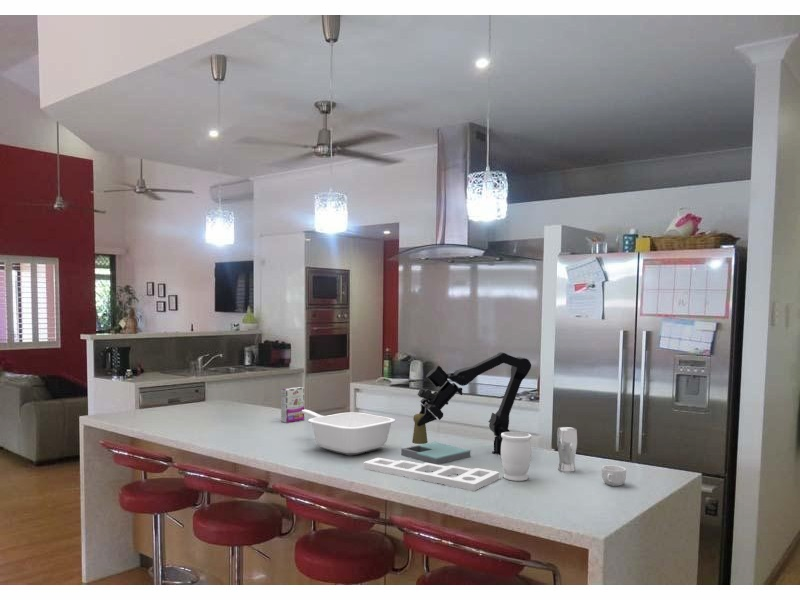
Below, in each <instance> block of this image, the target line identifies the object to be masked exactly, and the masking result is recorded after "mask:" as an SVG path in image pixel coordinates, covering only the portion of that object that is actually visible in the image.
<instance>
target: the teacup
mask: <svg viewBox="0 0 800 600" xmlns="http://www.w3.org/2000/svg"><path fill="white" fill-rule="evenodd" d="M601 478H602V480H603V482H604V483H605V484H606V485H608V484H609V485H608V486H610V485H614V486H613V487H620V486H622V485H624V484H625V481H626V480H627V479H626V478H627V468H626V467H624V466H622V465H621V466H619V465H616V464H615V465H611V464H607V465H602V467H601ZM619 485H620V486H619Z"/></svg>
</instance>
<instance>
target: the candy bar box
mask: <svg viewBox="0 0 800 600" xmlns="http://www.w3.org/2000/svg"><path fill="white" fill-rule="evenodd" d="M280 394H281V395H280V396H281V397H280V400H281V401H280V403H281V404H280V406H281V407H280V413H281V418H280V419H281V420H280V421H281V423H284V424H285V423H286V424H289V422H291V423H295V422H294V421H296V422H300V421H299V420H302V421H304V420H305V414H303V413H302V410H305V387H301V386H296V387H287V388H282V389H280Z"/></svg>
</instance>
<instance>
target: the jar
mask: <svg viewBox="0 0 800 600" xmlns="http://www.w3.org/2000/svg"><path fill="white" fill-rule="evenodd" d="M501 437H502V438H503V439H502V443H501V455H500V457H501V465H502V470H503V472H504V473H503V475H502V476H503V478H504V479H505V480H508V481H511V482H512V481H513V482H523V481H527V480H528V479H529V476H528V472H529V469H530V466H531V460H532V443H531V439H532V434H530V433H528V432H522V431H510V432H503V433H501Z"/></svg>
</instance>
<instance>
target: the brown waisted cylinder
mask: <svg viewBox="0 0 800 600" xmlns="http://www.w3.org/2000/svg"><path fill="white" fill-rule="evenodd" d="M423 415H424V414H419V413H415V414H414V415H413V418H412V419H413V422H414V426H413V434H412V441H411V442H412V444H417V445H422V444H427V443H429V440H428V436H427V426H426V424H424V425H421V426H418V425H417V423H418V422H419V420H420V419H421V418H422V416H423Z"/></svg>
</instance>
